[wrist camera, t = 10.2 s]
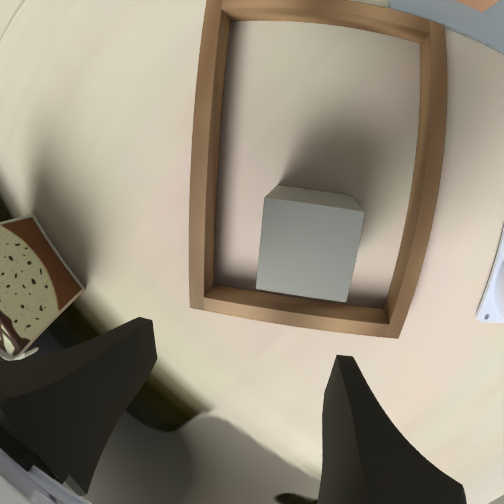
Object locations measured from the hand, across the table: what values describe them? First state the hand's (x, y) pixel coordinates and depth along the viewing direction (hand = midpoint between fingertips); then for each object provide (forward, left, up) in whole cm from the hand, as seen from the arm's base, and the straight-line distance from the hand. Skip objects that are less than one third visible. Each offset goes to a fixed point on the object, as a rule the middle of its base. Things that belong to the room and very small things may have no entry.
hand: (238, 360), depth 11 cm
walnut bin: (-2, -7, -9) cm, 12 cm away
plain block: (-2, -3, -10) cm, 10 cm away
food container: (+22, +4, -10) cm, 24 cm away
